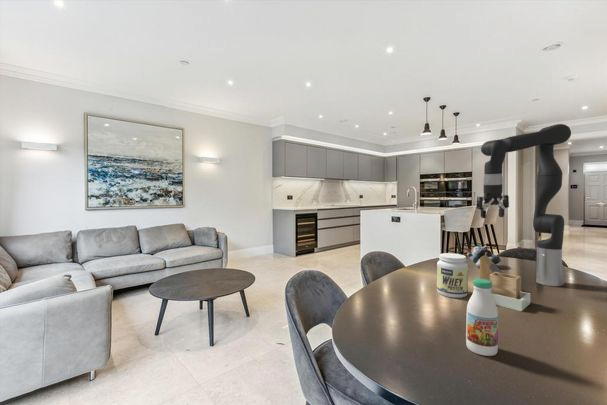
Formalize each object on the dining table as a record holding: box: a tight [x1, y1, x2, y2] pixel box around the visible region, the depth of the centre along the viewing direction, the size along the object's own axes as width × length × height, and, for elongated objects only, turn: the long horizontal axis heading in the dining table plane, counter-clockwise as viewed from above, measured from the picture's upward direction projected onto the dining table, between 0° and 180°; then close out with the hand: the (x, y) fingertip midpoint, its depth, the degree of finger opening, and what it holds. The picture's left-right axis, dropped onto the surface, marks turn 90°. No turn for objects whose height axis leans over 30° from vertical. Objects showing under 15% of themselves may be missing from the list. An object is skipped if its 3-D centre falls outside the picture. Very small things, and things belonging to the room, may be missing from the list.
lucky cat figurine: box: [466, 244, 502, 269], centre depth 174 cm, size 15×12×14 cm
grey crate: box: [491, 290, 531, 312], centre depth 119 cm, size 15×12×4 cm
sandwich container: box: [479, 255, 523, 292], centre depth 131 cm, size 9×15×15 cm, turn 44°
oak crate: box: [490, 272, 522, 300], centre depth 119 cm, size 9×6×10 cm, turn 40°
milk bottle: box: [465, 278, 499, 357], centre depth 84 cm, size 8×8×20 cm
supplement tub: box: [436, 252, 469, 299], centre depth 129 cm, size 12×12×17 cm
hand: (492, 217), depth 140 cm, fingers open, 8 cm apart
